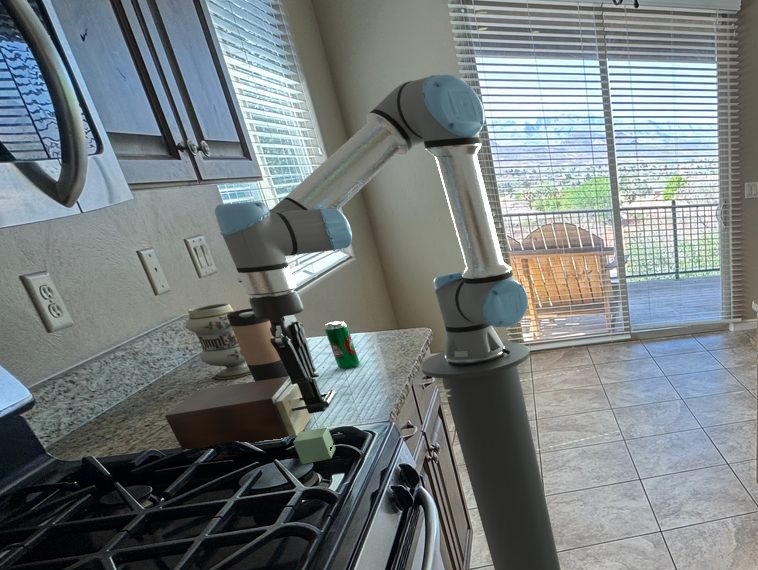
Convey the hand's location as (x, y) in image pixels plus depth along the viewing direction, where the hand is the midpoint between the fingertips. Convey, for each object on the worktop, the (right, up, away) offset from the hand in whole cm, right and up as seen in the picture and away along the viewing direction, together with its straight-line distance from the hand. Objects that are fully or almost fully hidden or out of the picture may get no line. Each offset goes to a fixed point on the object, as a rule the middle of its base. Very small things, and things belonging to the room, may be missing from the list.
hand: (317, 411), depth 113 cm
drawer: (-6, -4, -1) cm, 8 cm away
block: (+8, -9, -10) cm, 15 cm away
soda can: (-19, +13, +39) cm, 45 cm away
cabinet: (-11, -6, -2) cm, 13 cm away
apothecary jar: (-49, +11, +39) cm, 64 cm away
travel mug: (-24, +4, +21) cm, 32 cm away
